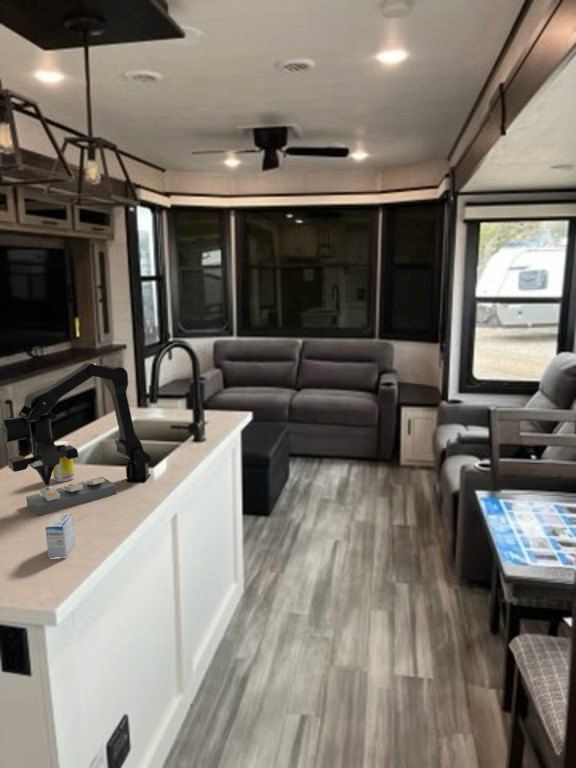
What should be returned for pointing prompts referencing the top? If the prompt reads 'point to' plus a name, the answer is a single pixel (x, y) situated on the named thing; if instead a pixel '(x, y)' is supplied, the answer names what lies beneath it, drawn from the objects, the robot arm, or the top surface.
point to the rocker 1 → (50, 493)
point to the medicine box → (60, 535)
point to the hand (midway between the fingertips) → (46, 485)
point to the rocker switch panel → (70, 497)
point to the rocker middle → (73, 487)
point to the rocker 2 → (95, 481)
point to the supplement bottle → (63, 467)
